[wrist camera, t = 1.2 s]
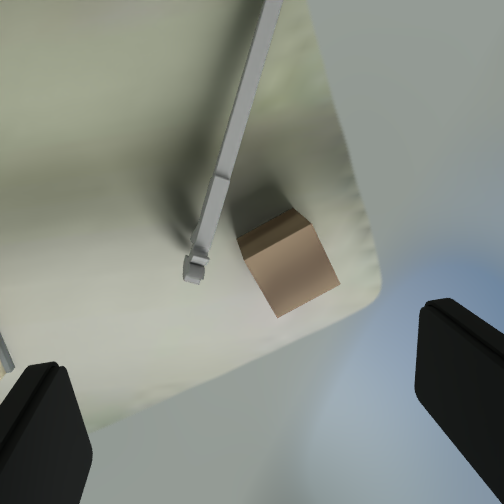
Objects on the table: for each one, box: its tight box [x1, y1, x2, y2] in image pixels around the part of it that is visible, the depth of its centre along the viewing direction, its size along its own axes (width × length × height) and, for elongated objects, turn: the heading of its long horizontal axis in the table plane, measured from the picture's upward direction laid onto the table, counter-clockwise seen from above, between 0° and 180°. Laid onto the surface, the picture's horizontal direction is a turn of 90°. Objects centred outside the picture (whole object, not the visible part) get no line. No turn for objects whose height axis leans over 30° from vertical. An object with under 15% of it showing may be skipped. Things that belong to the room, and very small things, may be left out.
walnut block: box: [237, 208, 340, 318], centre depth 27 cm, size 5×5×5 cm
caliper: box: [183, 0, 283, 285], centre depth 22 cm, size 20×1×6 cm, turn 161°
